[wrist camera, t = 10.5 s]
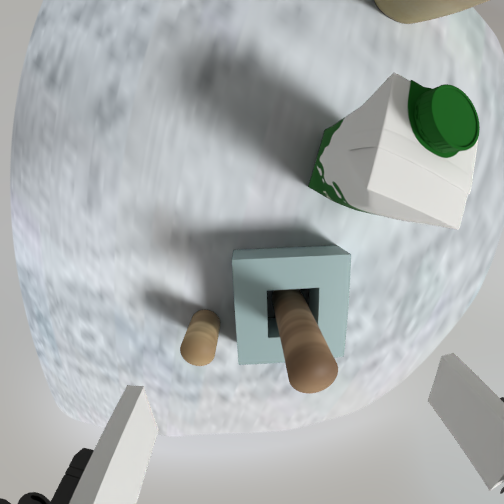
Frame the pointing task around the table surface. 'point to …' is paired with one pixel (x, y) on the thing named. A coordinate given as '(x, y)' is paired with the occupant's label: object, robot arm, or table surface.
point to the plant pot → (423, 9)
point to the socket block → (282, 278)
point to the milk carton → (402, 154)
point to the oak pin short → (201, 338)
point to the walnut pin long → (302, 343)
